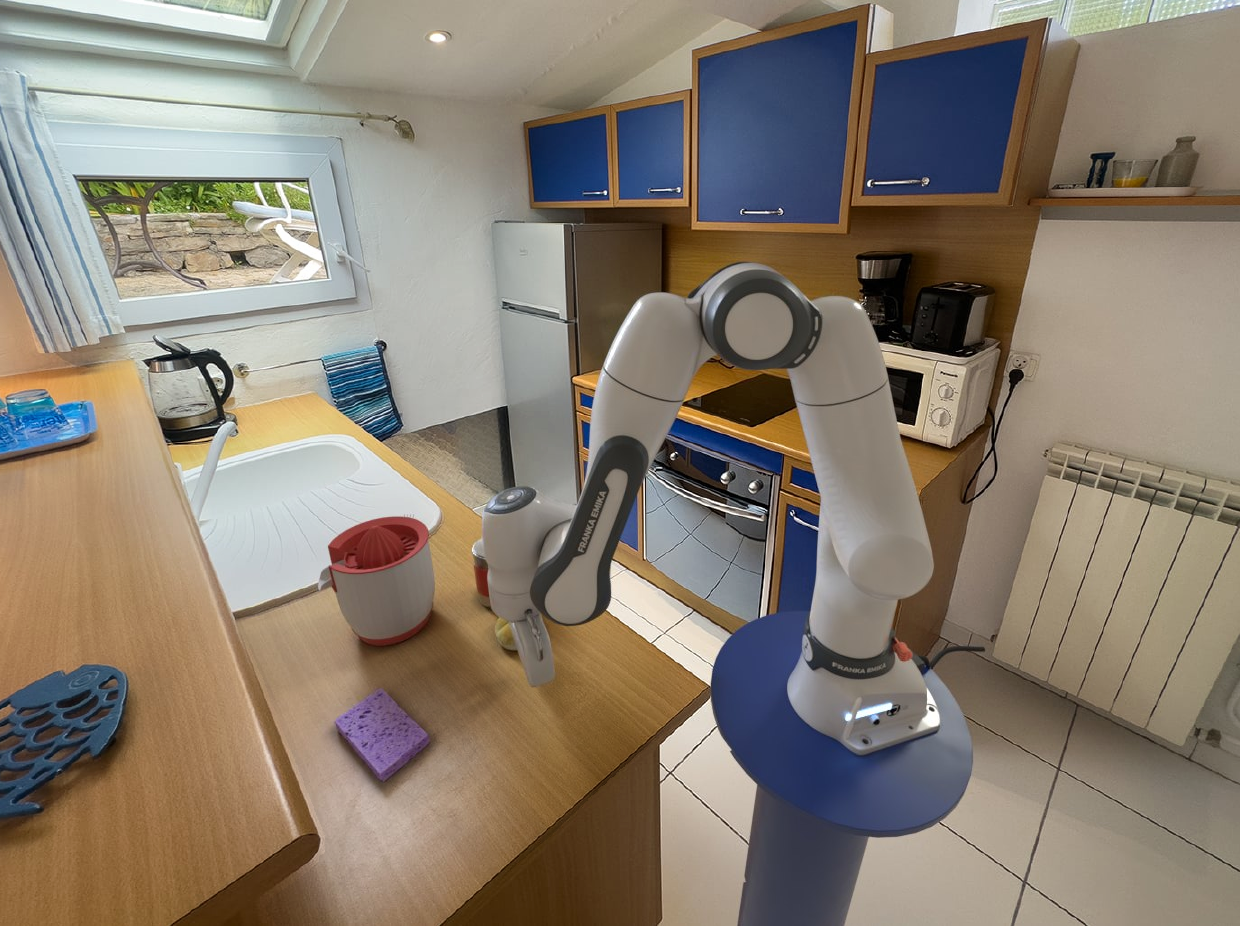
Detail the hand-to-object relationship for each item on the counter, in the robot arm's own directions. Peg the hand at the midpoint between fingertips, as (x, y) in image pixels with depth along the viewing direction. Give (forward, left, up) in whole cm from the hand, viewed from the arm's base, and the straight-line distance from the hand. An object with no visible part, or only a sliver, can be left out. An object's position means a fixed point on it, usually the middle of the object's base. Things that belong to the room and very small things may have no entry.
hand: (528, 661), depth 84 cm
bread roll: (+2, -9, -3) cm, 9 cm away
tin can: (+7, -19, -2) cm, 20 cm away
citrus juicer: (+25, -13, -3) cm, 29 cm away
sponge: (+19, +9, -3) cm, 21 cm away
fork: (+32, -38, -3) cm, 50 cm away
